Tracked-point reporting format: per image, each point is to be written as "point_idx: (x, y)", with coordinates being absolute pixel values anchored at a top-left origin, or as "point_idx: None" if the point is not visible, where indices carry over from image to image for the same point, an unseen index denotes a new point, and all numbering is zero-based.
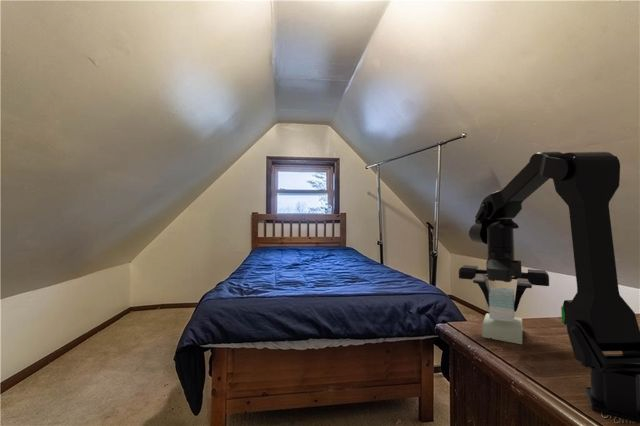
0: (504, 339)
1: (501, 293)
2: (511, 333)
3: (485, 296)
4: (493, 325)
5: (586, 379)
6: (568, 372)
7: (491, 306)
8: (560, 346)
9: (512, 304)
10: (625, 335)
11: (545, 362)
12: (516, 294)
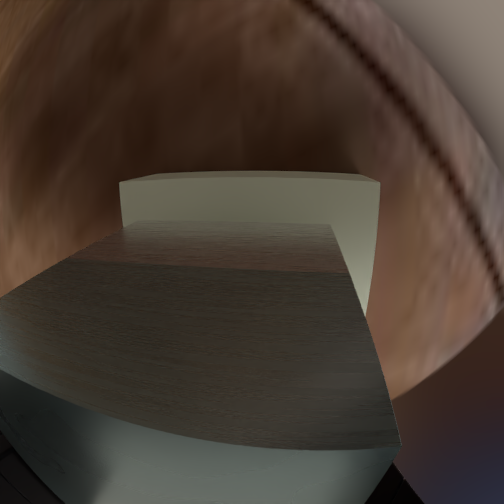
0: (237, 171)
1: (118, 490)
2: (184, 175)
3: (387, 470)
4: (297, 204)
5: (29, 12)
6: (51, 16)
7: (316, 269)
8: (52, 242)
9: (34, 278)
10: None
11: (90, 32)
12: (6, 443)
